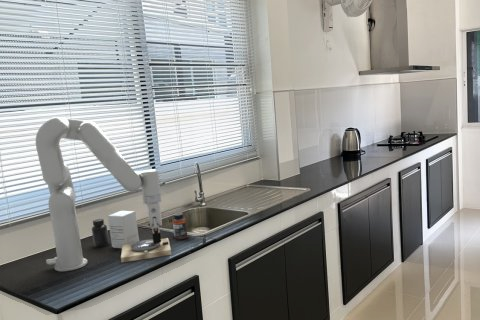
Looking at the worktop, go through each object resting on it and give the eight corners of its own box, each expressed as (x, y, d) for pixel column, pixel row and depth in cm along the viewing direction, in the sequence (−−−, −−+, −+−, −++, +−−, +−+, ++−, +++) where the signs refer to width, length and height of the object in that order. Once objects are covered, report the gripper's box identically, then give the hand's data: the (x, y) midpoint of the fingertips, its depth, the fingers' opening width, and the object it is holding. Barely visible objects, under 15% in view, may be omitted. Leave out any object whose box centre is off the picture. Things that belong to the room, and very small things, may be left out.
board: (121, 262, 179) (120, 256, 179) (123, 249, 197) (122, 243, 196) (171, 254, 183) (170, 248, 183) (168, 242, 201) (168, 236, 200)
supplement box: (124, 241, 209) (120, 210, 207) (140, 242, 205) (136, 210, 203) (111, 247, 201) (106, 215, 199) (126, 249, 197) (122, 216, 195)
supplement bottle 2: (181, 235, 210) (178, 211, 209) (190, 236, 206) (187, 212, 205) (172, 239, 205) (169, 215, 204) (180, 240, 202) (178, 216, 200)
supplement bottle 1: (103, 242, 211) (99, 217, 209) (112, 243, 207) (109, 218, 205) (90, 246, 205) (87, 221, 204) (100, 248, 201) (96, 222, 200)
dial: (130, 253, 183) (128, 237, 182) (132, 244, 195) (130, 229, 194) (161, 248, 185) (159, 233, 184) (161, 240, 196) (159, 225, 196)
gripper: (162, 201, 181) (167, 244, 183) (160, 194, 197) (164, 233, 200) (143, 204, 179) (148, 247, 181) (142, 196, 196) (147, 236, 198)
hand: (157, 239), depth 190 cm, fingers open, 6 cm apart
